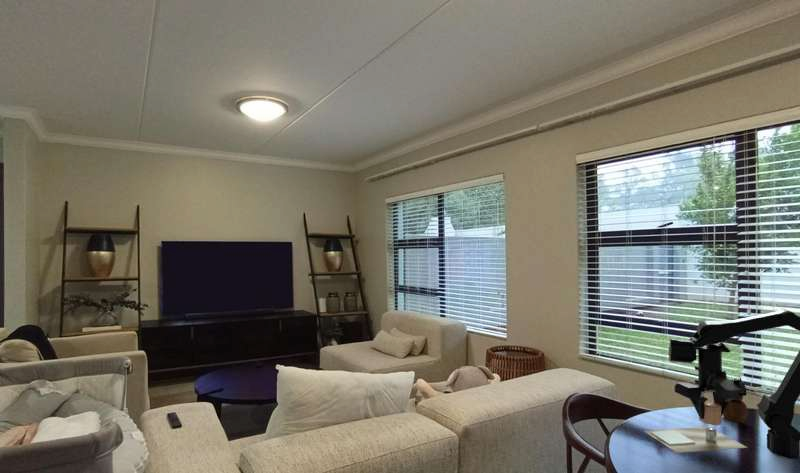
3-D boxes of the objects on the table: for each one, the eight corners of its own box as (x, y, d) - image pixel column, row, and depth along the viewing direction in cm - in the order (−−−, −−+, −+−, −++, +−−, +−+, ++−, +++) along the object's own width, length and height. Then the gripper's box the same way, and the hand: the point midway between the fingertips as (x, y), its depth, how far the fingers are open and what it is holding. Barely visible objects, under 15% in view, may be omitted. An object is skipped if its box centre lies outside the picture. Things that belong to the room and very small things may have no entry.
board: (747, 451, 126) (747, 447, 126) (676, 456, 123) (676, 452, 123) (708, 429, 139) (707, 426, 139) (643, 434, 137) (643, 430, 137)
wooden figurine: (751, 424, 143) (750, 378, 143) (739, 427, 141) (739, 380, 141) (728, 416, 149) (728, 372, 149) (717, 419, 147) (717, 374, 147)
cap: (711, 417, 133) (711, 400, 133) (725, 424, 127) (725, 407, 127) (695, 418, 132) (695, 401, 132) (709, 425, 127) (709, 408, 127)
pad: (695, 443, 128) (695, 442, 128) (669, 445, 127) (669, 443, 127) (674, 431, 136) (674, 430, 136) (650, 433, 135) (650, 431, 135)
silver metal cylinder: (718, 442, 129) (718, 430, 129) (710, 443, 128) (710, 431, 128) (711, 438, 131) (711, 427, 131) (703, 439, 131) (703, 427, 131)
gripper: (702, 375, 121) (703, 432, 121) (763, 372, 123) (764, 428, 123) (673, 363, 132) (673, 415, 132) (729, 361, 134) (730, 412, 134)
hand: (710, 418), depth 130 cm, fingers closed on cap, 5 cm apart
